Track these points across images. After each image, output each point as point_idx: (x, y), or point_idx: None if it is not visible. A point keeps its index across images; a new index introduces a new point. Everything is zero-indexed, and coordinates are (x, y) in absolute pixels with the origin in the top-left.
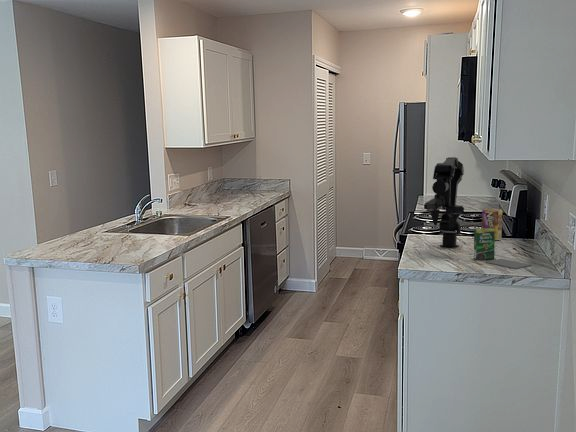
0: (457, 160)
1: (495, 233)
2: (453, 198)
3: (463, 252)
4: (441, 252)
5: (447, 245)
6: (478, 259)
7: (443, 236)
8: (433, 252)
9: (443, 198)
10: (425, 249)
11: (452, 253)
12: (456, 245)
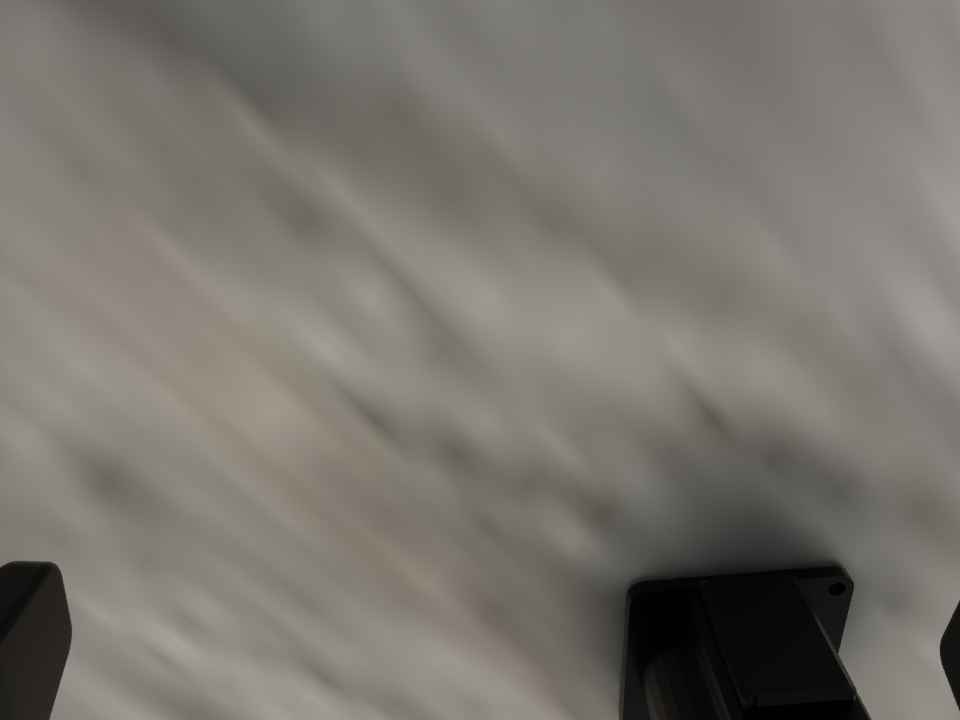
0: None
1: None
2: None
3: (288, 506)
4: (530, 239)
5: (701, 595)
6: None
7: (854, 718)
8: (641, 116)
9: None
10: (922, 220)
11: (337, 322)
12: (644, 709)
